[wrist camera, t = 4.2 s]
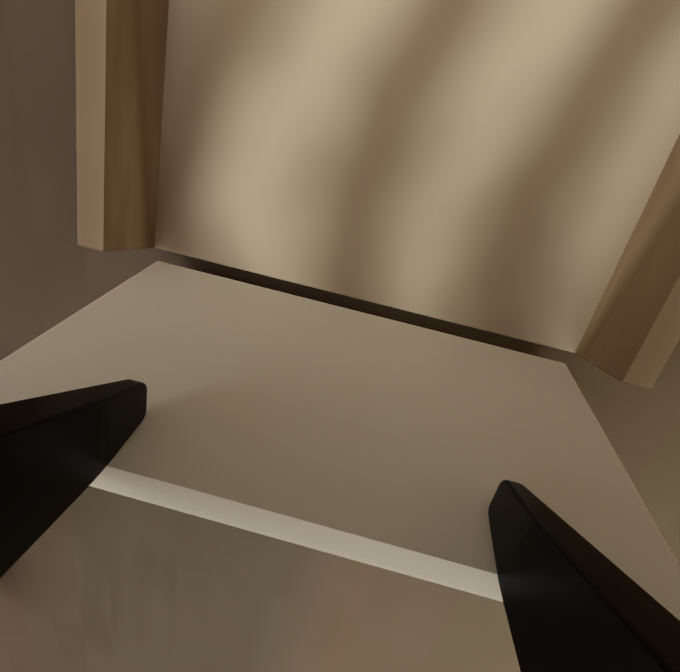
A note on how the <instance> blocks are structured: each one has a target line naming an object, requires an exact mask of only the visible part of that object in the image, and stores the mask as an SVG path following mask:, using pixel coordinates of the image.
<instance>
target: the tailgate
mask: <svg viewBox="0 0 680 672" xmlns="http://www.w3.org/2000/svg"><path fill="white" fill-rule="evenodd" d="M126 379H132V380H135V381H139V382H143V383H145V384H146V386H147V407H146V415H145V417H144V419H143V421H142V422H141V424H140V425H139V426H138V427H137V429H136V430H135V431H134V433H133V434H132V435H131V436H130V438H129V439H128V440H127V441H126V443H125V444H124V445H123V446H122V448H121V449H120V450H119V451H118V453H117V454H116V455H115V457H114V458H113V459H112V460H111V462H110V463H109V464H108V465H107V466H106V468H105V469H104V470H103V471H102V472H101V473H100V475H99V476H98V477H97V478H96V479H95V480H94V481H93V482H92V483H91V484H90V485H89V486H91V487H95V488H99V489H102V490H106V491H109V492H113V493H116V494H120V495H123V496H127V497H131V498H134V499H138V500H141V501H145V502H148V503H152V504H156V505H159V506H163V507H166V508H170V509H173V510H177V511H180V512H184V513H188V514H191V515H195V516H198V517H202V518H205V519H209V520H213V521H216V522H220V523H223V524H227V525H230V526H234V527H237V528H241V529H245V530H248V531H252V532H255V533H259V534H262V535H266V536H269V537H273V538H277V539H280V540H284V541H287V542H291V543H294V544H298V545H302V546H305V547H309V548H312V549H316V550H319V551H323V552H326V553H330V554H334V555H337V556H341V557H344V558H348V559H351V560H355V561H359V562H362V563H366V564H369V565H373V566H376V567H380V568H383V569H387V570H391V571H394V572H398V573H401V574H405V575H408V576H412V577H415V578H419V579H423V580H426V581H430V582H433V583H437V584H440V585H444V586H448V587H451V588H455V589H458V590H462V591H465V592H469V593H472V594H476V595H480V596H483V597H487V598H490V599H494V600H497V601H501V602H503V599H502V595H501V590H500V586H499V581H498V576H497V569H496V563H495V557H494V550H493V543H492V537H491V530H490V523H489V517H488V509H489V505H490V503H491V500H492V498H493V496H494V494H495V492H496V490H497V488H498V486H499V484H500V482H501V481H503V480H510V481H514V482H517V483H520V484H522V485H524V486H525V487H526V488H527V489H528V490H529V491H531V492H532V493H533V494H534V495H535V496H536V497H538V498H539V499H540V500H541V501H542V502H543V503H544V504H546V505H547V506H548V507H549V508H550V509H551V510H553V511H554V512H555V513H556V514H557V515H558V516H559V517H561V518H562V519H563V520H564V521H565V522H566V523H568V524H569V525H570V526H571V527H572V528H573V529H574V530H576V531H577V532H578V533H579V534H580V535H581V536H583V537H584V538H585V539H586V540H587V541H588V542H589V543H591V544H592V545H593V546H594V547H595V548H596V549H598V550H599V551H600V552H601V553H602V554H603V555H604V556H606V557H607V558H608V559H609V560H610V561H611V562H613V563H614V564H615V565H616V566H617V567H618V568H619V569H621V570H622V571H623V572H624V573H625V574H626V575H628V576H629V577H630V578H631V579H632V580H633V581H635V582H636V583H637V584H638V585H639V586H640V587H641V588H643V589H644V590H645V591H646V592H647V593H648V594H650V595H651V596H652V597H653V598H654V599H655V600H656V601H658V602H659V603H660V604H661V605H662V606H663V607H665V608H666V609H667V610H668V611H669V612H670V613H671V614H673V615H674V616H675V617H676V618H677V619H678V620H680V565H679V563H678V562H677V560H676V558H675V556H674V555H673V553H672V551H671V549H670V548H669V546H668V544H667V542H666V541H665V539H664V537H663V535H662V533H661V532H660V530H659V528H658V526H657V525H656V523H655V521H654V519H653V518H652V516H651V514H650V512H649V511H648V509H647V507H646V505H645V504H644V502H643V500H642V498H641V496H640V495H639V493H638V491H637V489H636V488H635V486H634V484H633V482H632V481H631V479H630V477H629V475H628V474H627V472H626V470H625V468H624V466H623V465H622V463H621V461H620V459H619V458H618V456H617V454H616V452H615V451H614V449H613V447H612V445H611V444H610V442H609V440H608V438H607V437H606V435H605V433H604V431H603V429H602V428H601V426H600V424H599V422H598V421H597V419H596V417H595V415H594V414H593V412H592V410H591V408H590V407H589V405H588V403H587V401H586V399H585V398H584V396H583V394H582V392H581V391H580V389H579V387H578V385H577V384H576V382H575V380H574V378H573V377H572V375H571V373H570V371H569V370H568V368H567V366H566V364H565V363H562V362H558V361H554V360H550V359H546V358H542V357H538V356H534V355H530V354H526V353H522V352H518V351H514V350H510V349H506V348H502V347H498V346H494V345H490V344H486V343H482V342H478V341H474V340H470V339H466V338H462V337H458V336H454V335H450V334H447V333H443V332H439V331H435V330H431V329H427V328H423V327H419V326H415V325H411V324H407V323H403V322H399V321H395V320H391V319H387V318H383V317H379V316H375V315H371V314H367V313H363V312H359V311H355V310H351V309H347V308H343V307H339V306H335V305H331V304H327V303H324V302H320V301H316V300H312V299H308V298H304V297H300V296H296V295H292V294H288V293H284V292H280V291H276V290H272V289H268V288H264V287H260V286H256V285H252V284H248V283H244V282H240V281H236V280H232V279H228V278H224V277H220V276H216V275H212V274H208V273H205V272H201V271H197V270H193V269H189V268H185V267H181V266H177V265H173V264H169V263H165V262H161V261H157V262H155V263H153V264H152V265H150V266H149V267H147V268H146V269H144V270H142V271H141V272H139V273H138V274H136V275H135V276H133V277H131V278H130V279H128V280H127V281H125V282H123V283H122V284H120V285H119V286H117V287H116V288H114V289H112V290H111V291H109V292H108V293H106V294H105V295H103V296H101V297H100V298H98V299H97V300H95V301H94V302H92V303H90V304H89V305H87V306H86V307H84V308H83V309H81V310H79V311H78V312H76V313H75V314H73V315H72V316H70V317H68V318H67V319H65V320H64V321H62V322H60V323H59V324H57V325H56V326H54V327H53V328H51V329H49V330H48V331H46V332H45V333H43V334H42V335H40V336H38V337H37V338H35V339H34V340H32V341H31V342H29V343H27V344H26V345H24V346H23V347H21V348H20V349H18V350H16V351H15V352H13V353H12V354H10V355H9V356H7V357H5V358H4V359H2V360H1V361H0V404H4V403H9V402H14V401H20V400H25V399H30V398H35V397H40V396H45V395H50V394H55V393H60V392H65V391H70V390H75V389H81V388H86V387H91V386H96V385H101V384H106V383H111V382H116V381H121V380H126Z"/></svg>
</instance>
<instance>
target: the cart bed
mask: <svg viewBox="0 0 680 672" xmlns="http://www.w3.org/2000/svg"><path fill="white" fill-rule="evenodd" d="M75 40H76V139H77V239H78V245H81V246H85V247H88V248H92V249H96V250H100V251H114V250H128V249H143V248H158V249H162V250H166V251H170V252H174V253H178V254H182V255H186V256H190V257H194V258H198V259H202V260H206V261H210V262H214V263H218V264H221V265H225V266H229V267H233V268H237V269H241V270H245V271H249V272H253V273H257V274H261V275H265V276H269V277H273V278H277V279H281V280H285V281H289V282H293V283H297V284H301V285H305V286H309V287H313V288H317V289H321V290H325V291H329V292H333V293H337V294H341V295H345V296H349V297H353V298H357V299H361V300H365V301H369V302H373V303H377V304H381V305H385V306H389V307H393V308H397V309H401V310H405V311H409V312H413V313H417V314H421V315H425V316H429V317H433V318H437V319H441V320H445V321H449V322H453V323H457V324H461V325H465V326H469V327H473V328H477V329H481V330H485V331H489V332H493V333H497V334H501V335H505V336H509V337H513V338H517V339H521V340H525V341H529V342H533V343H537V344H541V345H545V346H549V347H553V348H557V349H561V350H565V351H569V352H573V353H576V354H577V355H579V356H581V357H582V358H584V359H585V360H587V361H589V362H590V363H592V364H593V365H595V366H597V367H598V368H600V369H602V370H603V371H605V372H606V373H608V374H610V375H611V376H613V377H614V378H616V379H618V380H619V381H621V382H623V383H627V384H631V385H635V386H639V387H643V388H647V389H652V387H653V386H654V384H655V382H656V380H657V379H658V377H659V375H660V373H661V372H662V370H663V368H664V366H665V365H666V363H667V361H668V359H669V358H670V356H671V354H672V352H673V351H674V349H675V347H676V345H677V344H678V342H679V340H680V0H75Z"/></svg>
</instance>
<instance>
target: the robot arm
mask: <svg viewBox="0 0 680 672" xmlns="http://www.w3.org/2000/svg"><path fill="white" fill-rule="evenodd" d="M146 407H147V386H146V384H145V383H143V382H139V381H135V380H132V379H126V380H121V381H116V382H111V383H106V384H101V385H96V386H91V387H86V388H81V389H75V390H70V391H65V392H60V393H55V394H50V395H45V396H40V397H35V398H30V399H25V400H20V401H14V402H9V403H4V404H0V578H1V577H2V576H3V575H4V574H5V573H6V572H7V571H8V570H9V569H10V568H11V567H12V565H13V564H14V563H15V562H16V561H17V560H18V559H19V558H20V557H21V556H22V555H23V554H24V553H25V552H26V551H27V550H28V549H29V548H30V547H31V546H32V545H33V544H34V543H35V541H36V540H37V539H38V538H39V537H40V536H41V535H42V534H43V533H44V532H45V531H46V530H47V529H48V528H49V527H50V526H51V525H52V524H53V523H54V522H55V521H56V520H57V519H58V518H59V516H60V515H61V514H62V513H63V512H64V511H65V510H66V509H67V508H68V507H69V506H70V505H71V504H72V503H73V502H74V501H75V500H76V499H77V498H78V497H79V496H80V495H81V494H82V493H83V491H84V490H85V489H86V488H87V487H88V486H89V485H90V484H91V483H92V482H93V481H94V480H95V479H96V478H97V477H98V476H99V475H100V473H101V472H102V471H103V470H104V469H105V468H106V466H107V465H108V464H109V463H110V462H111V460H112V459H113V458H114V457H115V455H116V454H117V453H118V451H119V450H120V449H121V448H122V446H123V445H124V444H125V443H126V441H127V440H128V439H129V438H130V436H131V435H132V434H133V433H134V431H135V430H136V429H137V427H138V426H139V425H140V424H141V422H142V421H143V419H144V417H145V415H146ZM488 517H489V523H490V530H491V537H492V543H493V550H494V557H495V563H496V569H497V576H498V581H499V586H500V590H501V595H502V599H503V603H504V607H505V611H506V615H507V619H508V622H509V626H510V630H511V634H512V638H513V642H514V646H515V650H516V654H517V658H518V662H519V666H520V670H521V672H680V620H678V619H677V618H676V617H675V616H674V615H673V614H671V613H670V612H669V611H668V610H667V609H666V608H665V607H663V606H662V605H661V604H660V603H659V602H658V601H656V600H655V599H654V598H653V597H652V596H651V595H650V594H648V593H647V592H646V591H645V590H644V589H643V588H641V587H640V586H639V585H638V584H637V583H636V582H635V581H633V580H632V579H631V578H630V577H629V576H628V575H626V574H625V573H624V572H623V571H622V570H621V569H619V568H618V567H617V566H616V565H615V564H614V563H613V562H611V561H610V560H609V559H608V558H607V557H606V556H604V555H603V554H602V553H601V552H600V551H599V550H598V549H596V548H595V547H594V546H593V545H592V544H591V543H589V542H588V541H587V540H586V539H585V538H584V537H583V536H581V535H580V534H579V533H578V532H577V531H576V530H574V529H573V528H572V527H571V526H570V525H569V524H568V523H566V522H565V521H564V520H563V519H562V518H561V517H559V516H558V515H557V514H556V513H555V512H554V511H553V510H551V509H550V508H549V507H548V506H547V505H546V504H544V503H543V502H542V501H541V500H540V499H539V498H538V497H536V496H535V495H534V494H533V493H532V492H531V491H529V490H528V489H527V488H526V487H525V486H524V485H522V484H520V483H517V482H514V481H510V480H503V481H501V482H500V484H499V486H498V488H497V490H496V492H495V494H494V496H493V498H492V500H491V503H490V505H489V509H488Z"/></svg>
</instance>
